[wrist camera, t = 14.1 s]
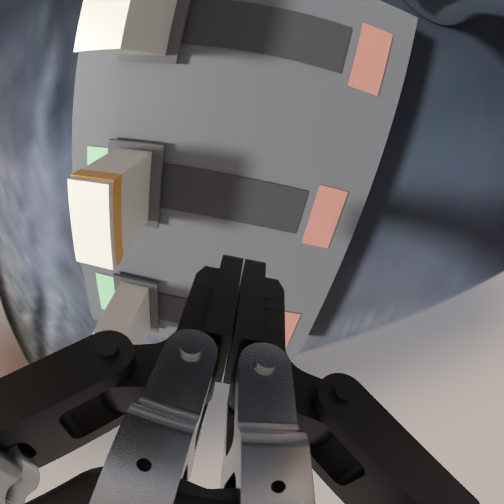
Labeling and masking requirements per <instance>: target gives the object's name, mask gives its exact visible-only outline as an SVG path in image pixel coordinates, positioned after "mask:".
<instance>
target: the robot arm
mask: <svg viewBox="0 0 504 504" xmlns="http://www.w3.org/2000/svg"><path fill="white" fill-rule="evenodd" d="M243 260H244V258H239V257H234V256H229V255H224V254H223V257H222V261H221V264H220V268H215V267H210V266H204V267H203V268H202V269H201V270H200V271H199V272H197V273H196V276H195V278H194V281H193V284H192V287H191V290H190V292H189V295H188V298H187V301H186V304H185V307H184V310H183V313H182V316H181V319H180V322H179V325H178V327H177V330H176V331H175V333H173V334H172V335H170V336H169V337H168V339H167V340H165V341H163V342H160V343H156V344H139V345H133V344H132V342H131V340H130V339H129V338H128V337H127V336H126V335H124V334H123V333H121V332H118V331H113V330H104V331H100V332H97V333H95V334H93V335H91V336H89V337H86V338H84V339H82V340H80V341H78V342H76V343H74V344H72V345H70V346H67V347H65V348H63V349H61V350H59V351H57V352H55V353H53V354H50V355H48V356H46V357H44V358H42V359H40V360H38V361H36V362H33V363H31V364H29V365H27V366H25V367H23V368H21V369H18V370H16V371H14V372H12V373H10V374H8V375H6V376H4V377H1V378H0V504H24V502H25V499H26V497H27V496H28V495H29V494H30V493H31V492H33V491H34V490H35V489H36V488H37V486H38V484H39V480H40V472H39V468H40V467H42V466H44V465H46V464H48V463H50V462H52V461H54V460H56V459H58V458H60V457H62V456H64V455H66V454H68V453H70V452H72V451H74V450H76V449H77V448H79V447H81V446H83V445H85V444H87V443H88V442H90V441H92V440H94V439H96V438H97V437H99V436H101V435H103V434H105V433H107V432H108V431H110V430H112V429H113V428H115V427H117V426H119V425H120V428H119V430H118V432H117V435H116V437H115V439H114V442H113V444H112V447H111V449H110V452H109V454H108V456H107V459H106V461H105V464H104V466H103V467H98V468H94V469H90V470H88V471H85V472H83V473H81V474H79V475H78V476H76V477H74V478H72V479H70V480H69V481H67V482H65V483H63V484H61V485H60V486H58V487H56V488H54V489H52V490H50V491H49V492H47V493H45V494H43V495H41V496H39V497H37V498H35V499H33V500H31V501H29V502H27V503H25V504H315V494H314V484H313V474H312V469H313V470H314V471H315V472H316V473H317V474H318V475H319V476H320V478H322V480H323V481H324V482H325V483H326V484H327V485H328V486H329V487H330V488H331V490H332V491H333V492H334V493H335V494H336V495H337V496H338V497H339V498H340V499H341V500H342V501H343V502H344V503H345V504H480V503H479V501H478V500H477V499H476V498H475V497H474V496H473V495H472V494H471V493H470V492H469V491H468V490H467V489H465V487H463V485H461V484H460V483H459V482H458V481H457V480H456V479H455V478H454V477H453V476H452V475H451V474H450V473H449V472H448V471H447V470H446V469H445V468H444V467H443V466H442V465H441V464H440V463H439V462H438V461H437V460H436V459H435V458H434V457H433V456H432V455H431V454H430V453H429V452H428V451H427V450H426V449H425V448H424V447H423V446H422V445H421V444H420V443H419V442H418V441H417V440H416V439H415V438H414V437H413V436H412V435H411V434H410V433H409V432H408V431H406V430H405V428H403V426H402V425H401V424H400V423H399V422H397V420H396V419H394V417H393V416H392V415H391V414H390V413H389V412H388V411H387V410H386V409H385V408H384V407H383V406H382V405H380V403H379V402H378V401H377V400H376V399H375V398H373V396H372V395H371V394H370V393H369V392H368V391H367V390H366V389H365V388H364V387H363V386H362V385H361V384H360V383H359V382H358V381H357V380H356V379H354V378H353V377H351V376H349V375H346V374H342V373H334V374H330V375H328V376H326V377H325V378H323V379H320V378H318V377H315V376H313V375H310V374H308V373H305V372H303V371H301V370H300V369H298V368H297V367H296V366H295V365H293V363H292V362H291V361H290V359H289V357H288V355H287V353H286V348H285V304H284V302H285V296H284V289H283V287H282V285H281V284H280V282H279V280H277V279H272V278H266V277H265V276H266V263H265V262H260V261H255V260H250V259H245V263H244V267H243V272H242V266H243ZM241 272H242V276H241ZM240 279H241V281H240ZM239 285H240V286H239ZM227 354H228V356H227ZM226 358H227V362H226ZM225 363H226V368H225V375H224V382H223V383H227V384H230V389H229V396H228V400H227V404H226V416H225V438H224V458H223V465H222V474H221V489H206V488H203V487H200V486H198V485H196V484H193V483H191V482H189V477H190V473H191V470H192V465H193V461H194V457H195V453H196V449H197V445H198V441H199V438H200V434H201V431H202V427H203V423H204V419H205V415H206V412H207V409H208V405H209V402H210V400H211V399H212V396H213V391H214V386H215V382H220V383H221V380H222V376H223V372H224V367H225Z"/></svg>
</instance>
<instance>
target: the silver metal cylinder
mask: <svg viewBox="0 0 504 504" xmlns="http://www.w3.org/2000/svg"><path fill="white" fill-rule="evenodd" d="M405 1H406V2H407V4H408V5H409V6H410V7H411V8H412V9H413V10H415V11H416V12H417V13H418V14H420V15H421V16H423V17H424V18H426V19H428V20H429V21H432V22H434V23H437V24H440V25H446V26H454V25H459V24H461V23H464V22H466V21H468V20H469V19H471V18H474V17H476V16H481V15H490V16H498V17H503V18H504V0H405Z"/></svg>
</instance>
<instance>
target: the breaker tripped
mask: <svg viewBox="0 0 504 504" xmlns="http://www.w3.org/2000/svg"><path fill="white" fill-rule="evenodd" d="M164 152H165V145H164V144H156V143H148V142H139V141H130V140H120V139H109V140H108V154H106V155H104V156H103V157H101V158H99V159H98V160H96V161H94V162H93V163H91V164H89V165H88V166H86V167H85V168H83V169H79V170H77V171H76V172H74V173H72V174H71V177H69V178H68V179H67V184H68V198H69V210H70V219H71V228H72V236H73V243H74V250H75V256H76V261H77V262H81V263H85V264H89V265H93V266H97V267H101V268H105V269H110V270H114V269H115V267H118V265H119V264H120V262H121V261H122V259H123V255H124V254H125V252H126V251H127V249H128V248H129V246H130V245H131V244H132V242H133V241H134V239H135V238H136V236H137V235H138V234H139V232H140V231H141V230H142V228H143V227H144V226H147V227H153V228H158V227H159V217H160V199H161V185H162V173H163V162H164Z"/></svg>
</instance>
